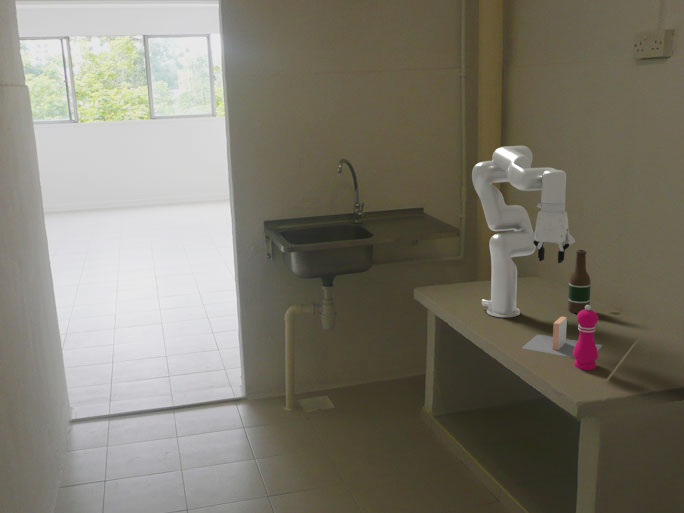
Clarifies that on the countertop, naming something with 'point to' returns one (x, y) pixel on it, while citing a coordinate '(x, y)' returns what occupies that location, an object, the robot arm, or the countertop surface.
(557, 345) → the tile
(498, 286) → the robot arm
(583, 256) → the beer bottle
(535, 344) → the mat
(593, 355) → the pepper mill
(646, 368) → the countertop surface
